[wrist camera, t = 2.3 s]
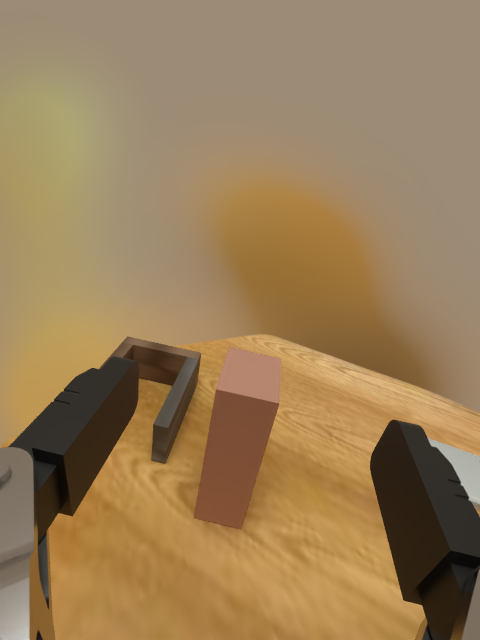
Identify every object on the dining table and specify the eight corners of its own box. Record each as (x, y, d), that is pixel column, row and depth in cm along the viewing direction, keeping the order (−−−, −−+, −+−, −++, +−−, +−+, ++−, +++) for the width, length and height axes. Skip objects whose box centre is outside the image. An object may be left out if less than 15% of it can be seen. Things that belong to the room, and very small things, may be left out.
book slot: (197, 383, 46) (201, 352, 43) (165, 463, 34) (168, 427, 31) (127, 368, 46) (127, 336, 44) (72, 441, 35) (67, 404, 32)
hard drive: (487, 457, 41) (389, 422, 44) (512, 515, 34) (394, 470, 37) (480, 465, 42) (384, 430, 45) (504, 524, 35) (389, 479, 38)
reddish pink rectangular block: (247, 476, 34) (281, 358, 27) (240, 529, 30) (279, 403, 22) (207, 467, 35) (229, 347, 27) (193, 517, 30) (216, 389, 22)
